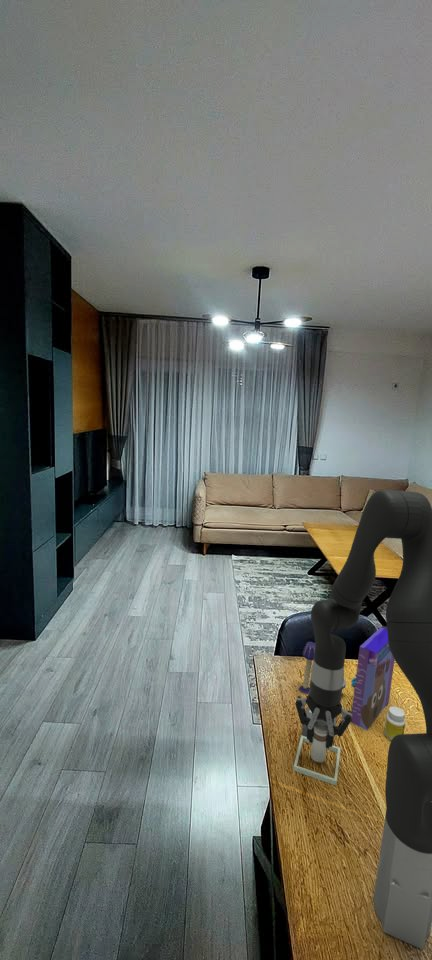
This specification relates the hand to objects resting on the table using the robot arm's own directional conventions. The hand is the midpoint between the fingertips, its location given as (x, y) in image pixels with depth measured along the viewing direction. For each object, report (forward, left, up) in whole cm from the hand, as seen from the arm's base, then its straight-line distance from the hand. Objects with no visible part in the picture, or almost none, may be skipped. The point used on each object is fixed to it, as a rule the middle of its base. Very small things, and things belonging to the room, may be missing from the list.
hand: (319, 743), depth 103 cm
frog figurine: (+29, -1, -6) cm, 30 cm away
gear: (+38, -10, -6) cm, 40 cm away
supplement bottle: (+17, -18, -6) cm, 26 cm away
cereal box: (+25, -12, -6) cm, 29 cm away
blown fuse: (0, 0, -4) cm, 4 cm away
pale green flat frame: (0, 0, -6) cm, 6 cm away
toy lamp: (+26, +7, -6) cm, 28 cm away
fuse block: (+13, +1, -6) cm, 14 cm away
